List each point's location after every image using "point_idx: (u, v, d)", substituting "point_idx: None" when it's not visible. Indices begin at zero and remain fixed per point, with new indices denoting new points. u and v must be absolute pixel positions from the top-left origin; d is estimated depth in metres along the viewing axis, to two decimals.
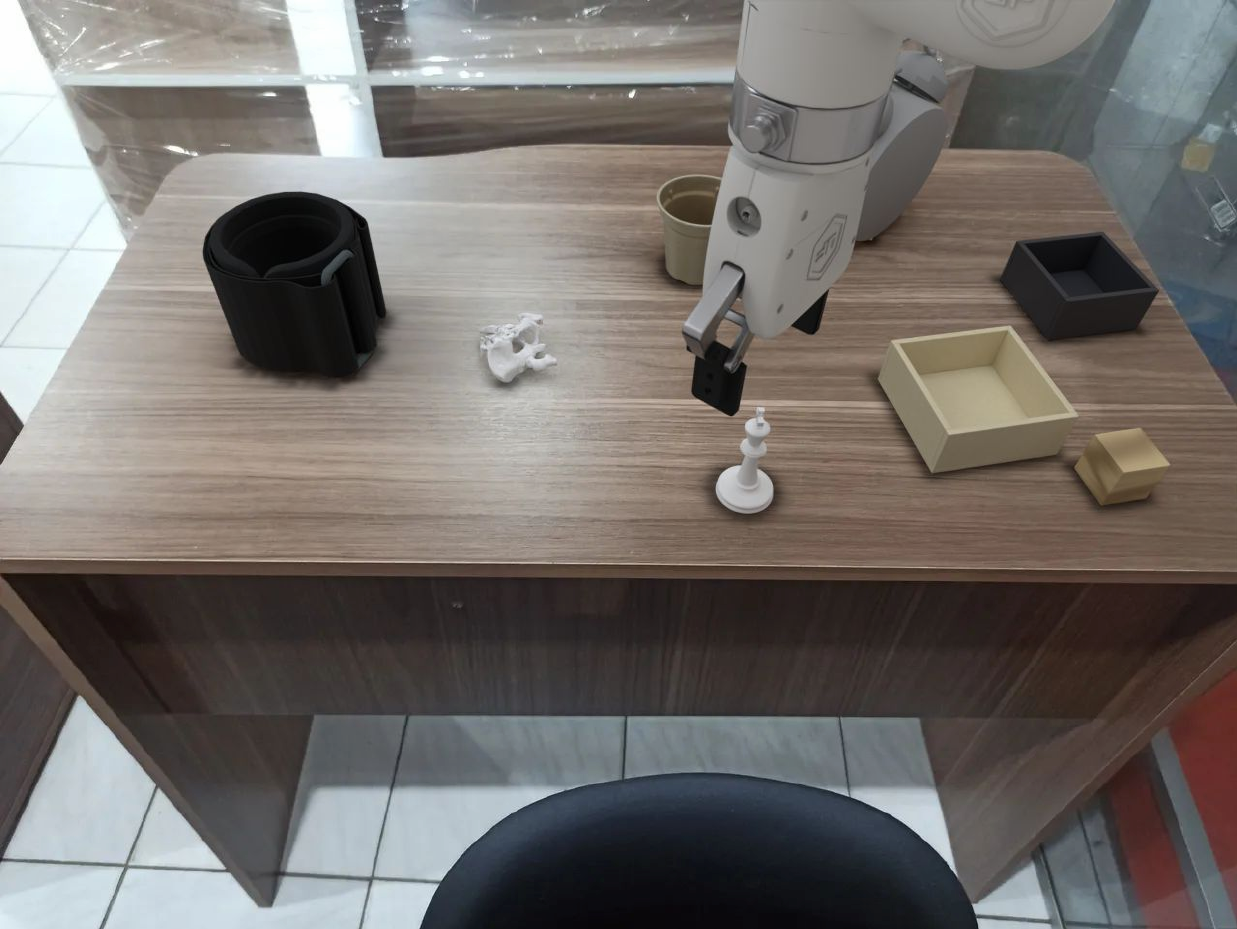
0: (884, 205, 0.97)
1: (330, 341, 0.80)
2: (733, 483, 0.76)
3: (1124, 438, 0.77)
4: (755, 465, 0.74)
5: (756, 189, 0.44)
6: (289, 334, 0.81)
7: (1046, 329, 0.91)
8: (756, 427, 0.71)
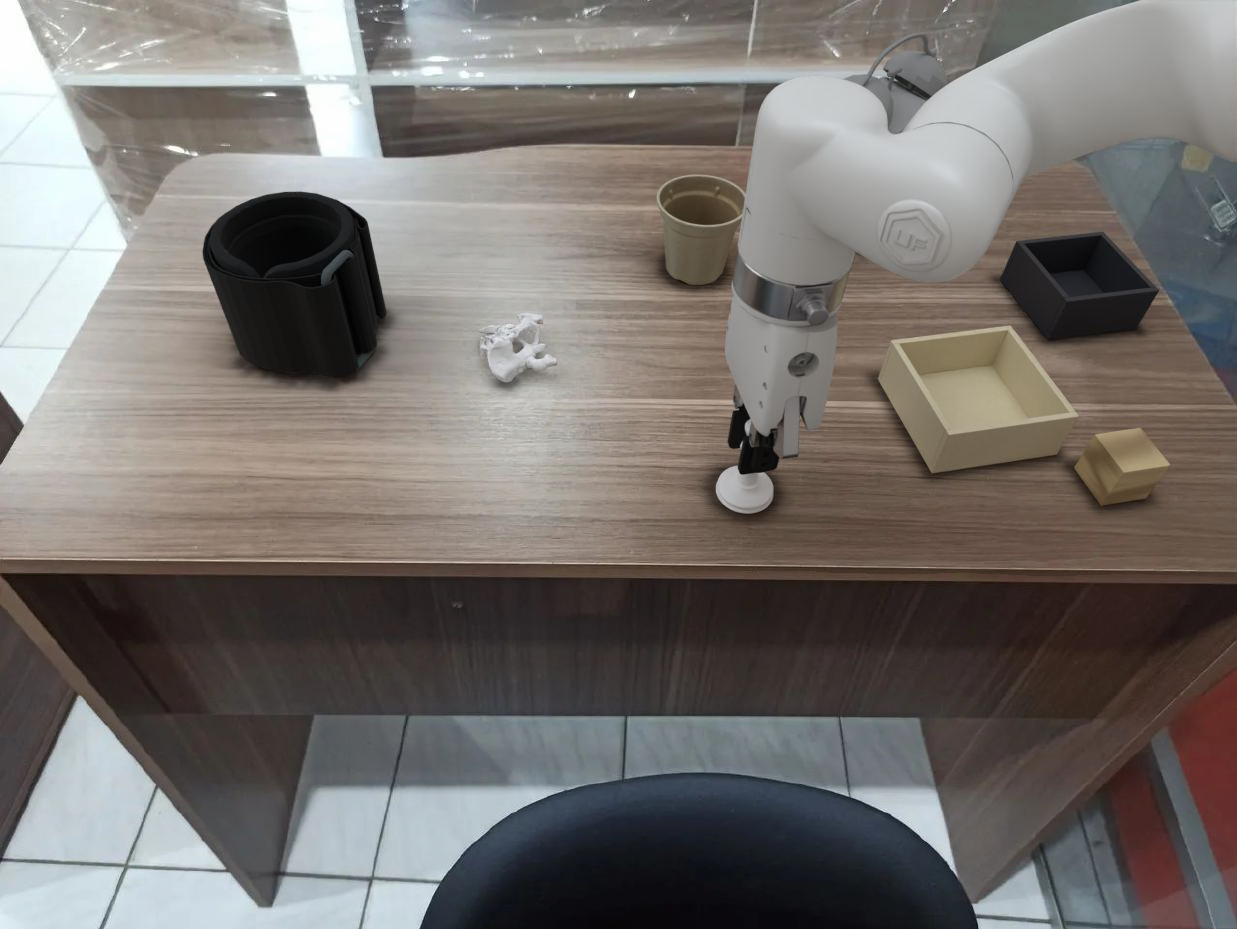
0: None
1: (330, 341, 0.80)
2: (733, 483, 0.76)
3: (1124, 438, 0.77)
4: None
5: (812, 343, 0.59)
6: (289, 334, 0.81)
7: (1046, 329, 0.91)
8: None
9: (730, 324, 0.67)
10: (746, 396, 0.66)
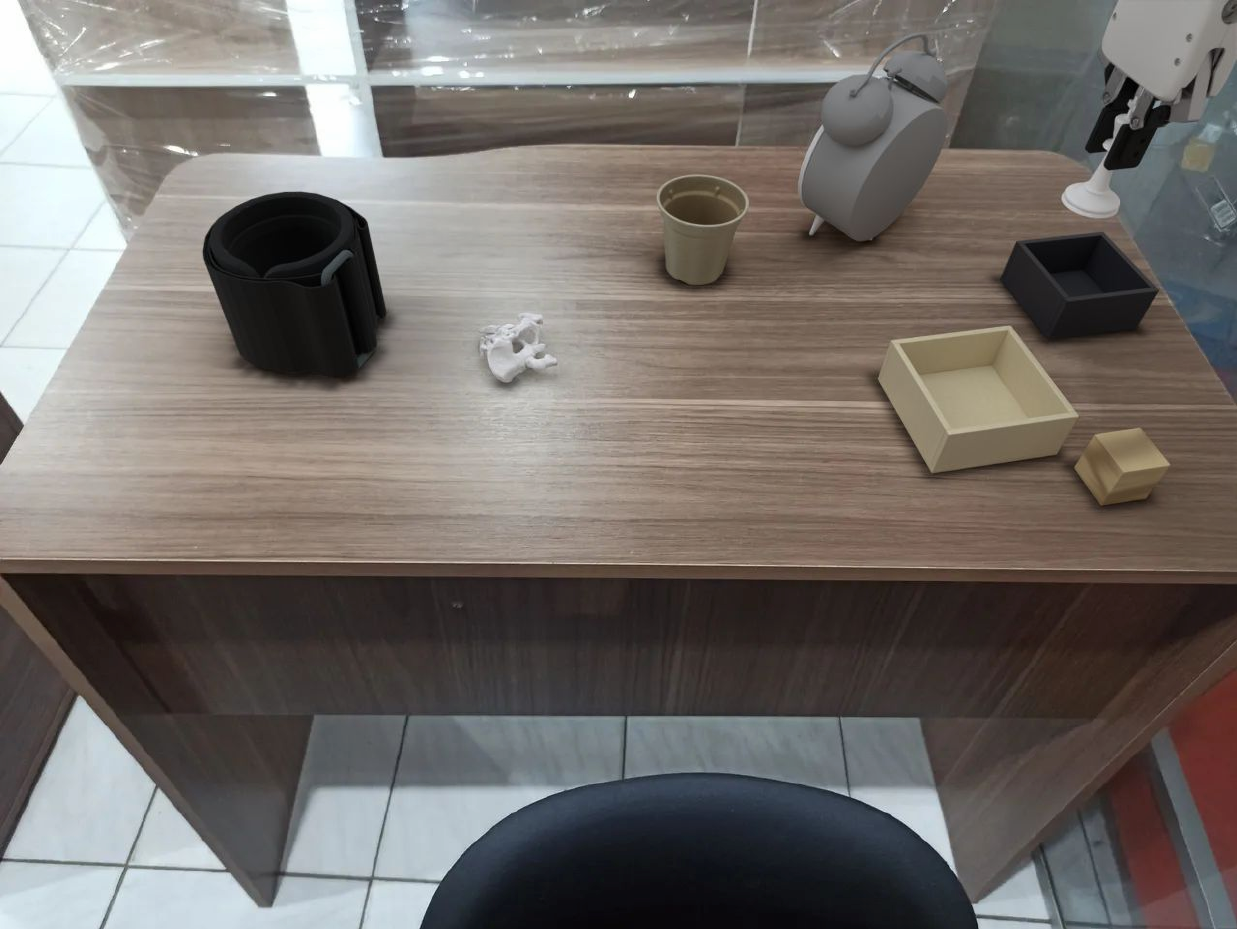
0: (884, 205, 0.97)
1: (330, 341, 0.80)
2: (1083, 192, 0.81)
3: (1124, 438, 0.77)
4: None
5: None
6: (289, 334, 0.81)
7: (1046, 329, 0.91)
8: (1129, 118, 0.76)
9: (1123, 7, 0.72)
10: (1147, 67, 0.71)
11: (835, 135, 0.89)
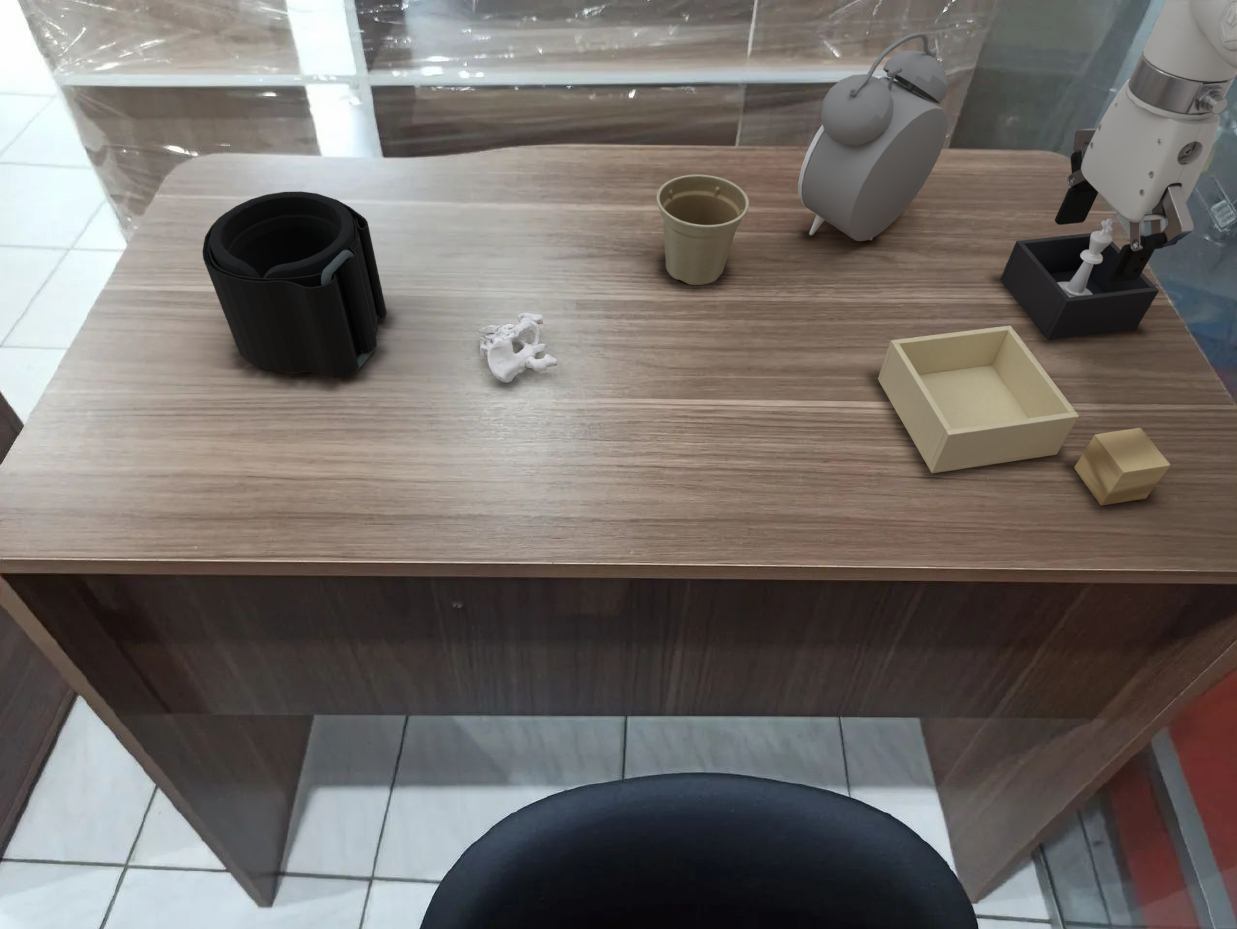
0: (884, 205, 0.97)
1: (330, 341, 0.80)
2: None
3: (1124, 438, 0.77)
4: (1089, 273, 0.92)
5: (1201, 134, 0.76)
6: (289, 334, 0.81)
7: (1046, 329, 0.91)
8: (1102, 236, 0.89)
9: (1098, 139, 0.85)
10: (1117, 193, 0.83)
11: (835, 135, 0.89)
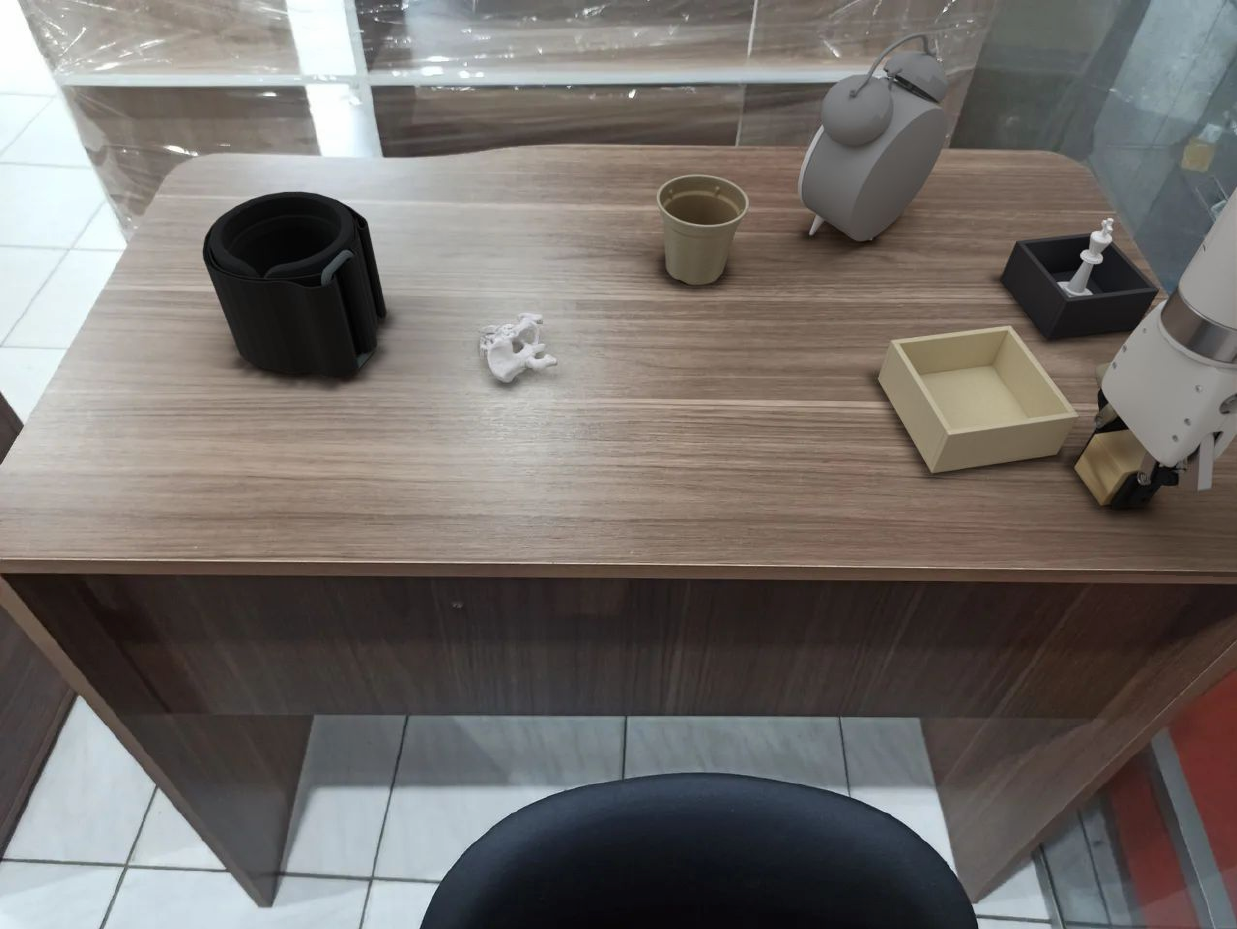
0: (884, 205, 0.97)
1: (330, 341, 0.80)
2: None
3: (1124, 438, 0.77)
4: (1089, 273, 0.92)
5: None
6: (289, 334, 0.81)
7: (1046, 329, 0.91)
8: (1102, 236, 0.89)
9: (1123, 362, 0.72)
10: (1145, 429, 0.71)
11: (835, 135, 0.89)
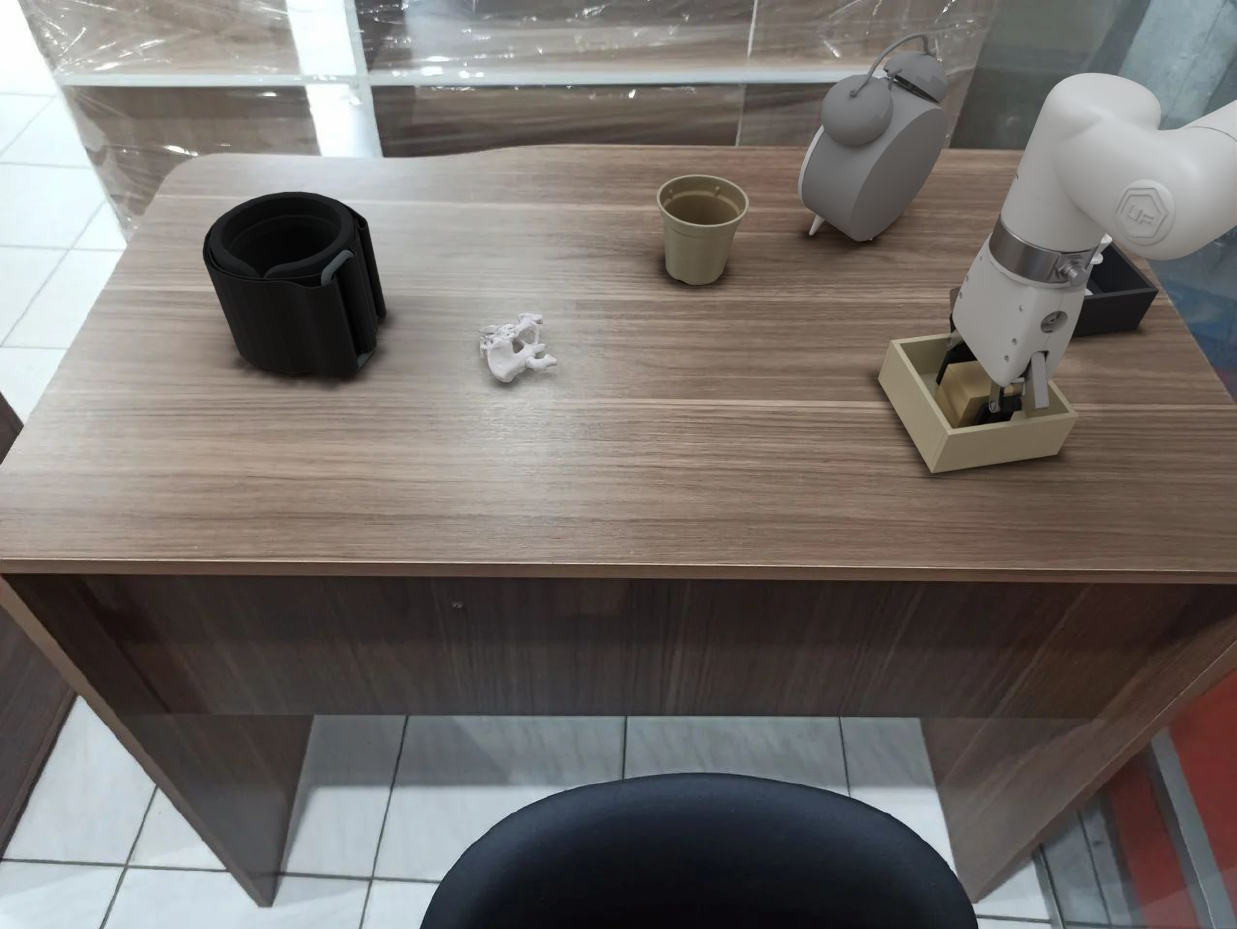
0: (884, 205, 0.97)
1: (330, 341, 0.80)
2: None
3: (975, 368, 0.81)
4: (1089, 273, 0.92)
5: (1065, 303, 0.69)
6: (289, 334, 0.81)
7: None
8: None
9: (966, 291, 0.77)
10: (985, 353, 0.75)
11: (835, 135, 0.89)
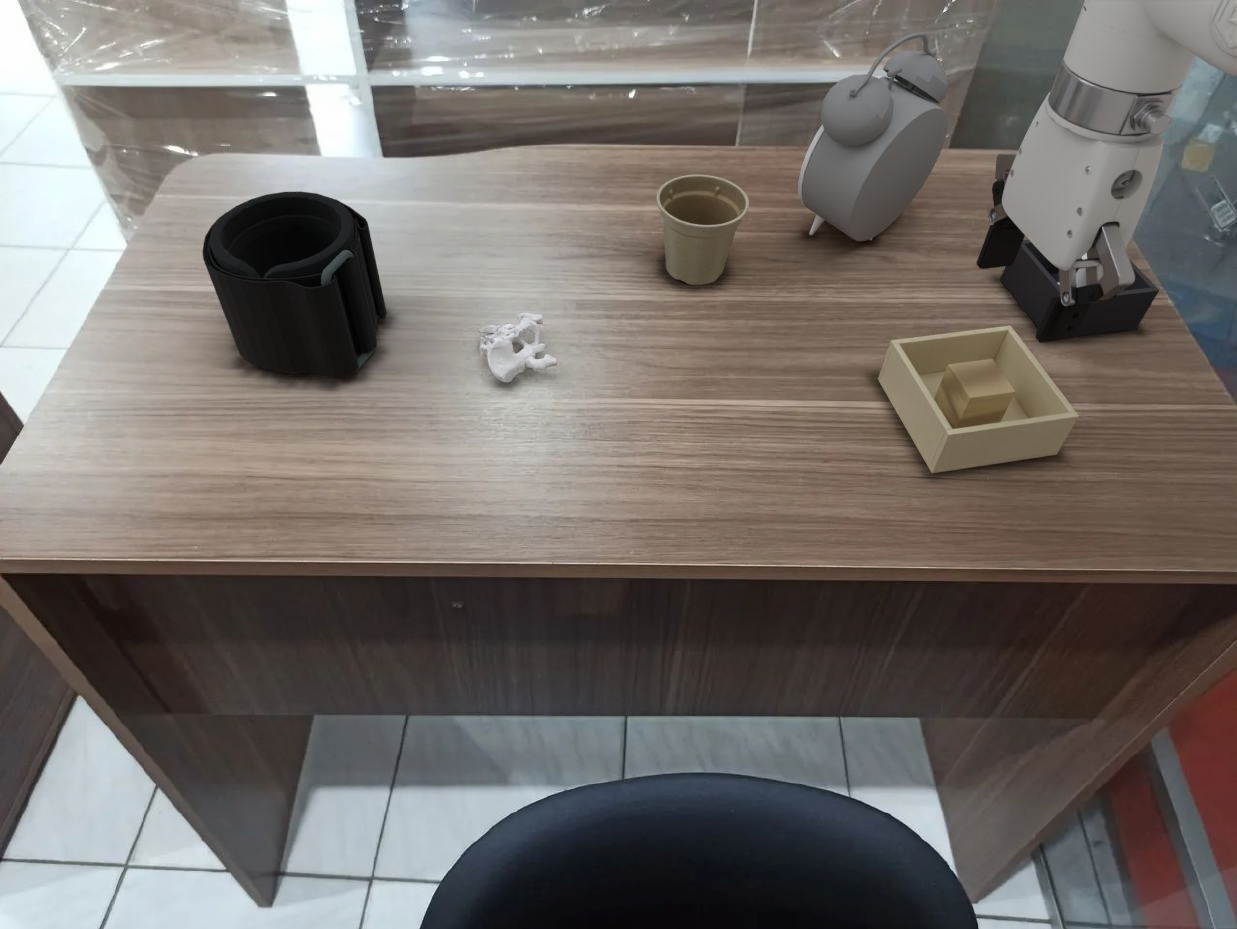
0: (884, 205, 0.97)
1: (330, 341, 0.80)
2: None
3: (975, 368, 0.81)
4: None
5: (1140, 160, 0.59)
6: (289, 334, 0.81)
7: None
8: None
9: (1019, 166, 0.68)
10: (1042, 233, 0.66)
11: (835, 135, 0.89)
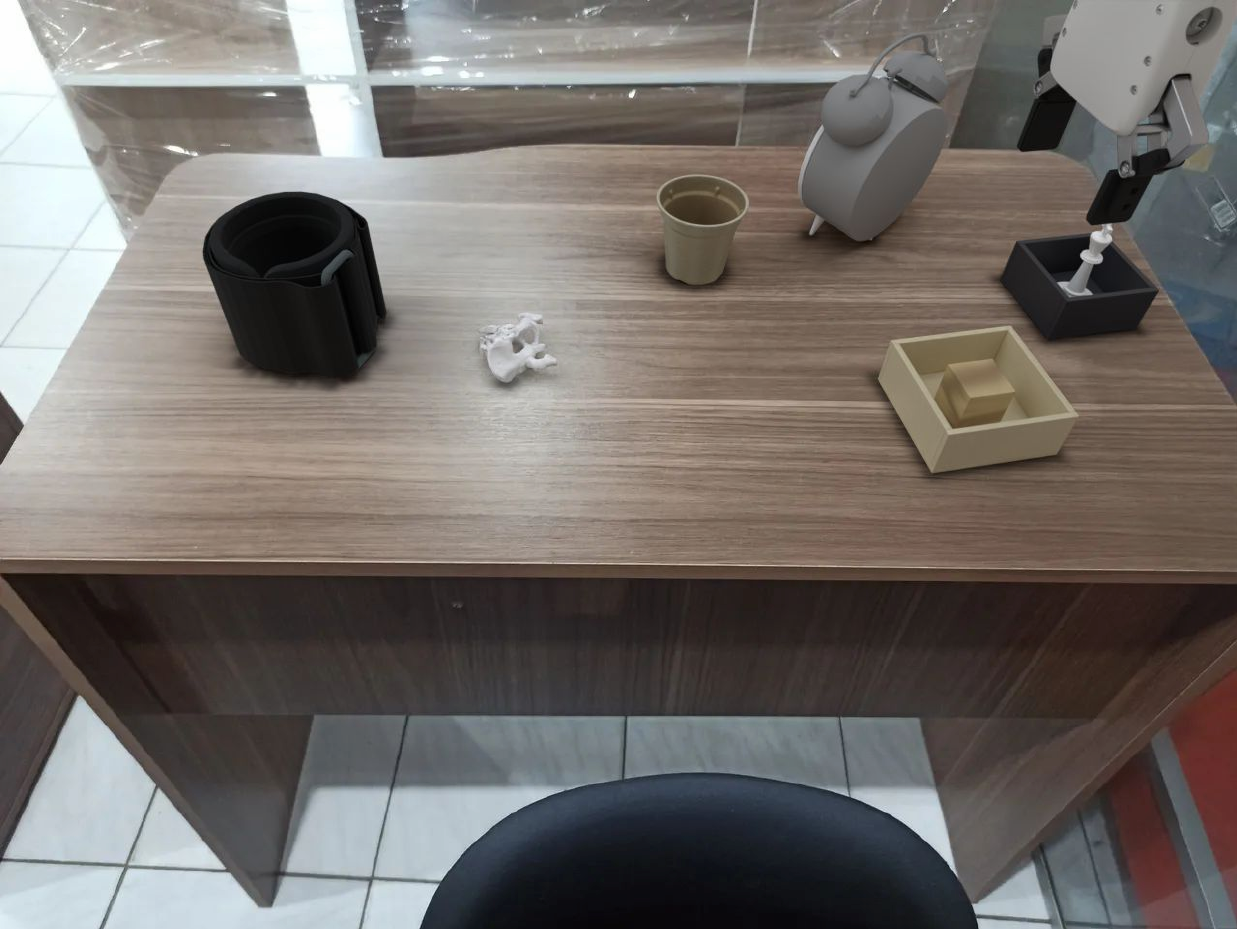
0: (884, 205, 0.97)
1: (330, 341, 0.80)
2: None
3: (975, 368, 0.81)
4: (1089, 273, 0.92)
5: None
6: (289, 334, 0.81)
7: (1046, 329, 0.91)
8: (1102, 236, 0.89)
9: (1073, 21, 0.60)
10: (1100, 95, 0.59)
11: (835, 135, 0.89)
